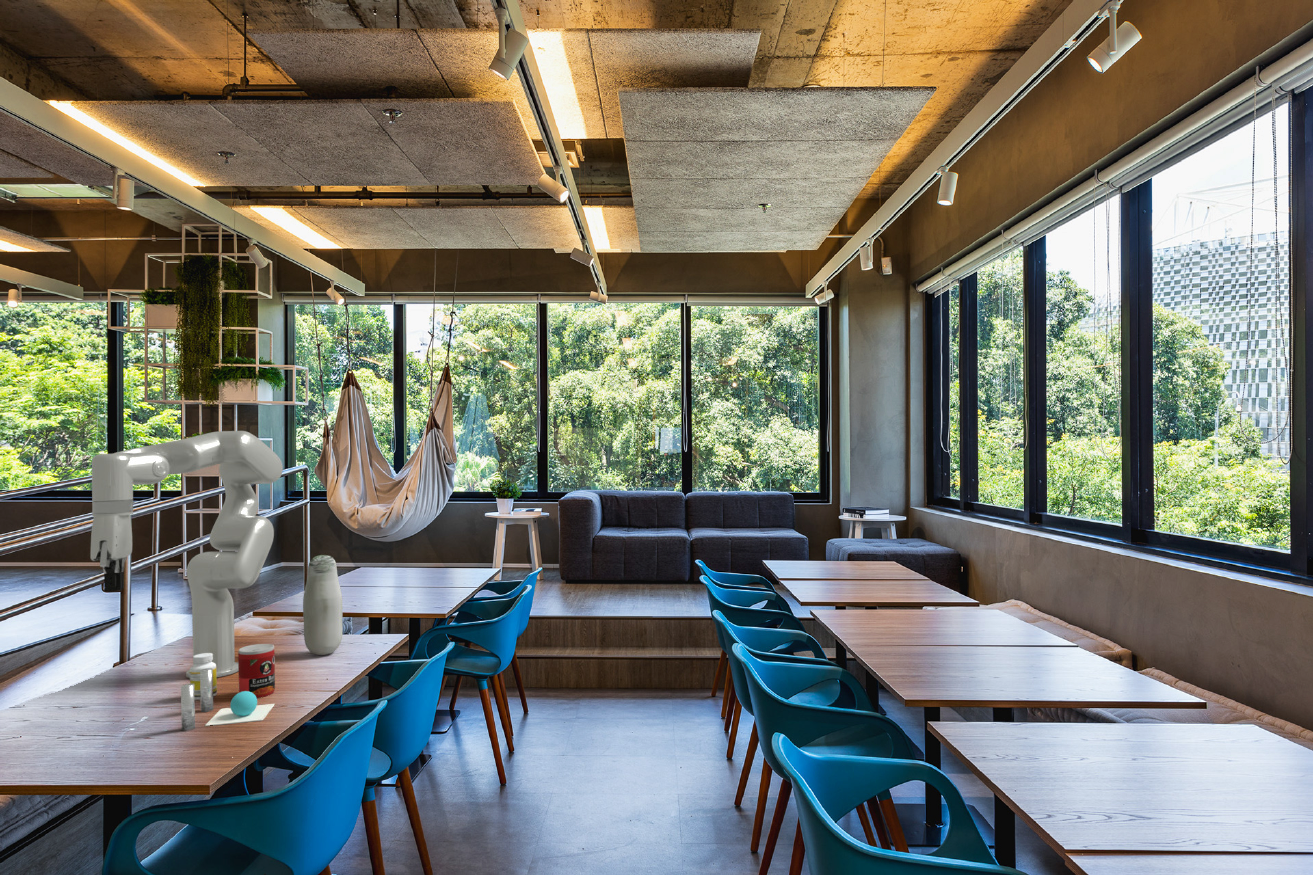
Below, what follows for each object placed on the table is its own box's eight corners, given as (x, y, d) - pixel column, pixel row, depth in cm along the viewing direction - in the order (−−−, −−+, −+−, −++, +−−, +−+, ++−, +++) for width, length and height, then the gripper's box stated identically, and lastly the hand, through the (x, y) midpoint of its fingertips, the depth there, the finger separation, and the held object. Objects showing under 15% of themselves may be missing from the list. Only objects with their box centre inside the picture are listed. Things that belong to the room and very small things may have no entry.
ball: (255, 684, 172) (264, 705, 172) (232, 694, 171) (242, 716, 171) (245, 690, 167) (255, 712, 167) (222, 701, 166) (232, 723, 166)
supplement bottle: (213, 691, 188) (212, 650, 188) (219, 696, 184) (219, 654, 184) (187, 696, 184) (187, 655, 184) (194, 701, 180) (193, 659, 180)
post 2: (202, 708, 174) (202, 668, 175) (214, 707, 175) (214, 667, 175) (199, 712, 172) (198, 671, 172) (211, 711, 173) (210, 670, 173)
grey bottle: (299, 654, 221) (297, 555, 221) (335, 647, 228) (333, 551, 228) (311, 660, 214) (309, 558, 214) (348, 653, 221) (346, 554, 221)
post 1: (183, 727, 163) (183, 684, 163) (196, 725, 163) (196, 682, 163) (179, 731, 160) (179, 687, 160) (192, 729, 161) (192, 686, 161)
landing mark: (221, 709, 174) (221, 708, 174) (274, 704, 176) (274, 703, 176) (205, 726, 163) (205, 725, 163) (262, 720, 166) (262, 719, 166)
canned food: (251, 701, 179) (250, 653, 179) (231, 696, 184) (231, 649, 184) (282, 692, 186) (281, 645, 186) (262, 687, 190) (262, 642, 190)
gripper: (108, 507, 181) (109, 586, 181) (77, 511, 167) (78, 597, 166) (145, 505, 183) (146, 584, 183) (117, 510, 168) (118, 595, 168)
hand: (114, 590), depth 174 cm, fingers closed
